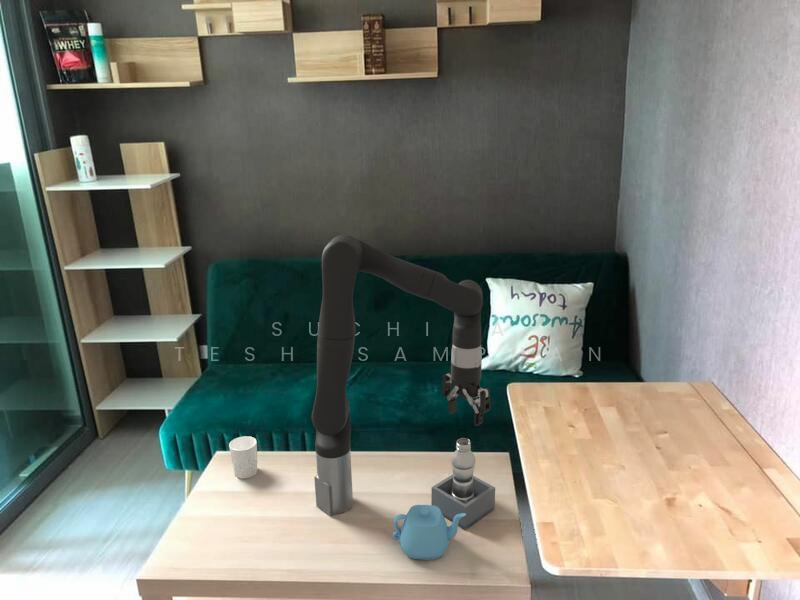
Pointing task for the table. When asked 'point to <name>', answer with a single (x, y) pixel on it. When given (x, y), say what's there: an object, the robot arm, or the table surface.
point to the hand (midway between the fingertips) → (465, 418)
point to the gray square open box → (473, 508)
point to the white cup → (244, 456)
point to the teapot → (425, 532)
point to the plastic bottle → (463, 471)
